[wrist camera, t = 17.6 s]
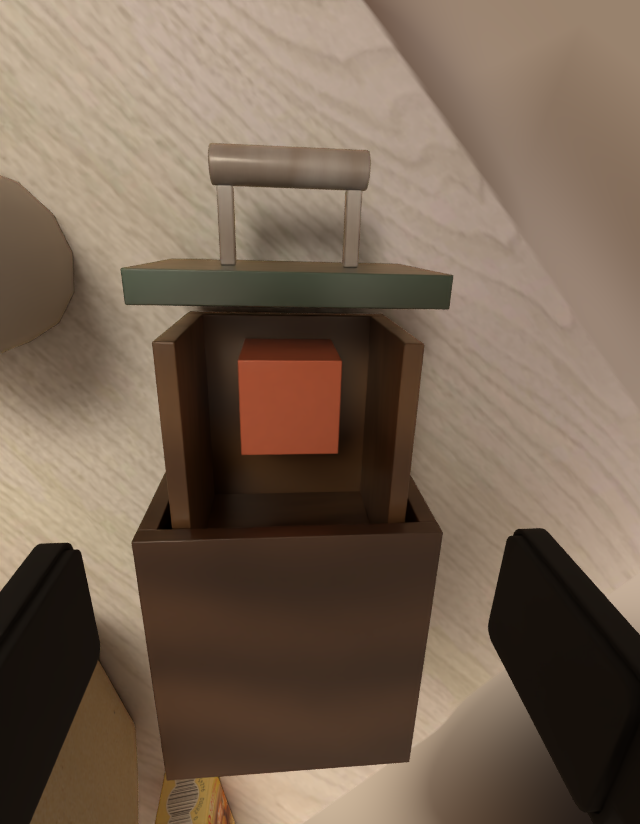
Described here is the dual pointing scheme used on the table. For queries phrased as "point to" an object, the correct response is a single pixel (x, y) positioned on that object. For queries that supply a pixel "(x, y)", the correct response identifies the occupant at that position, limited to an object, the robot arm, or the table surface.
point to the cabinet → (285, 640)
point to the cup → (30, 267)
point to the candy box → (193, 802)
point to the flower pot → (94, 764)
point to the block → (289, 396)
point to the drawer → (286, 287)
